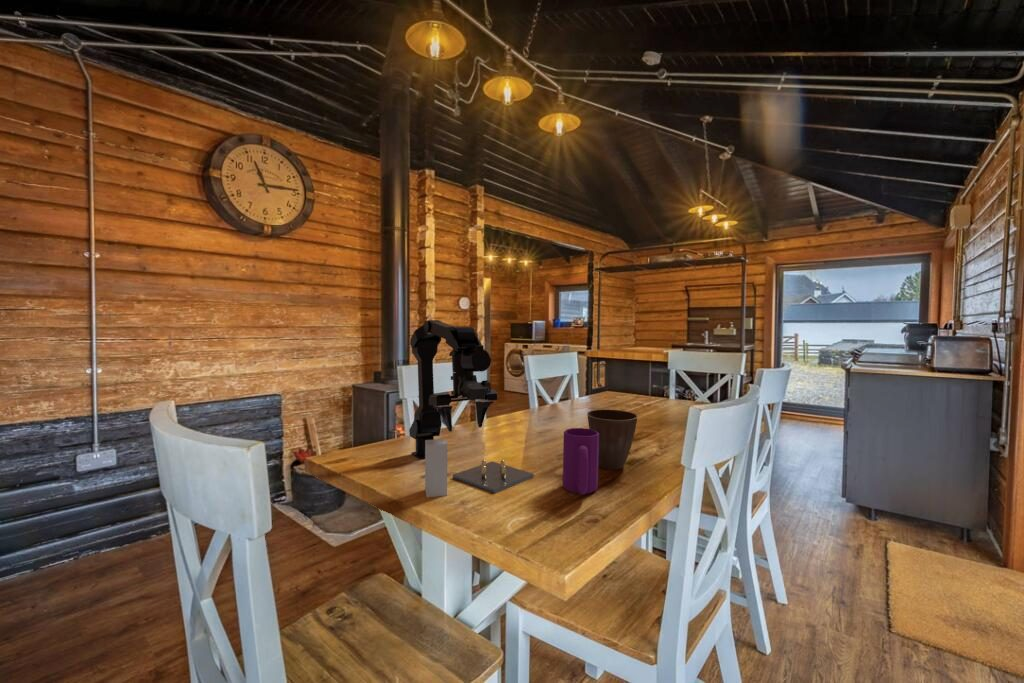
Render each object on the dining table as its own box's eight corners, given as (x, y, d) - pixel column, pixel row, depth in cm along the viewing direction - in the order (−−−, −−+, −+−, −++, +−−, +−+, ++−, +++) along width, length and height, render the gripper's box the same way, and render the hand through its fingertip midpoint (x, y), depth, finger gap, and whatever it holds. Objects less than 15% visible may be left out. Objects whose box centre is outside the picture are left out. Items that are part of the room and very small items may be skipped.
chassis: (452, 478, 121) (452, 463, 121) (492, 464, 133) (492, 450, 133) (494, 493, 111) (494, 477, 110) (533, 477, 123) (533, 462, 123)
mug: (595, 482, 119) (596, 428, 119) (603, 506, 104) (604, 444, 103) (562, 481, 120) (563, 427, 119) (564, 504, 105) (565, 442, 104)
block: (425, 489, 112) (425, 440, 112) (444, 488, 114) (444, 438, 113) (426, 497, 108) (427, 445, 107) (447, 495, 109) (447, 444, 108)
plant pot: (634, 477, 124) (635, 421, 123) (582, 470, 129) (583, 417, 128) (637, 461, 138) (639, 411, 137) (590, 456, 143) (591, 408, 142)
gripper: (445, 373, 108) (447, 437, 107) (507, 369, 118) (510, 427, 117) (426, 373, 117) (429, 432, 116) (486, 370, 127) (488, 424, 127)
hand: (465, 429), depth 119 cm, fingers open, 9 cm apart
